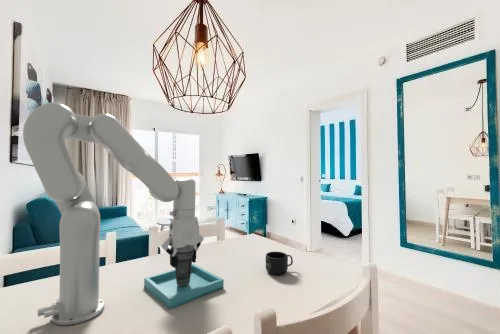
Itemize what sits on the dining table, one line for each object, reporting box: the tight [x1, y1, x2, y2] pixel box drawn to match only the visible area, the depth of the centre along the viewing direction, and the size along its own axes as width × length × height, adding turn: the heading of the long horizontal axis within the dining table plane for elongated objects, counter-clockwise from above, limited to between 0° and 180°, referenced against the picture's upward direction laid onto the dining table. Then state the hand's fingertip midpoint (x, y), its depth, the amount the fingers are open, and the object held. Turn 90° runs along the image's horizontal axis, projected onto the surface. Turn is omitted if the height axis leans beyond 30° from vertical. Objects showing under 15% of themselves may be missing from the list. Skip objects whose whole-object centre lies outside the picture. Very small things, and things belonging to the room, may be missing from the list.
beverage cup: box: [174, 245, 194, 286], centre depth 90 cm, size 7×7×20 cm
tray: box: [143, 263, 225, 310], centre depth 90 cm, size 20×20×3 cm
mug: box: [265, 251, 294, 276], centre depth 104 cm, size 12×9×7 cm
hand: (183, 263), depth 90 cm, fingers closed on beverage cup, 6 cm apart
